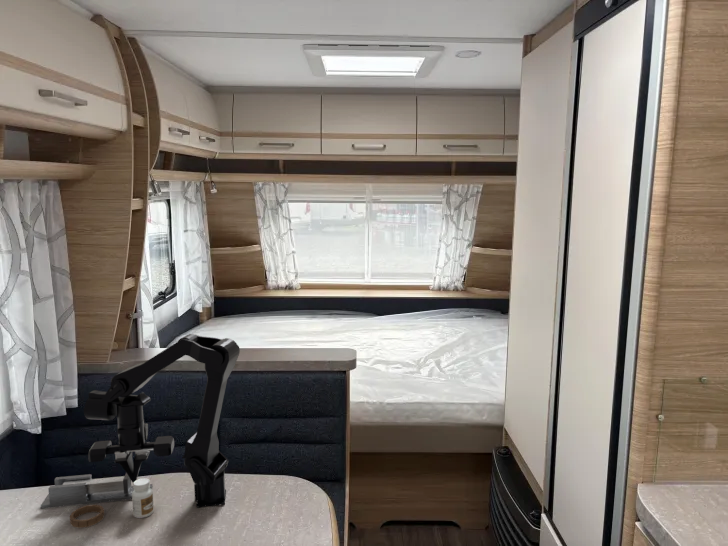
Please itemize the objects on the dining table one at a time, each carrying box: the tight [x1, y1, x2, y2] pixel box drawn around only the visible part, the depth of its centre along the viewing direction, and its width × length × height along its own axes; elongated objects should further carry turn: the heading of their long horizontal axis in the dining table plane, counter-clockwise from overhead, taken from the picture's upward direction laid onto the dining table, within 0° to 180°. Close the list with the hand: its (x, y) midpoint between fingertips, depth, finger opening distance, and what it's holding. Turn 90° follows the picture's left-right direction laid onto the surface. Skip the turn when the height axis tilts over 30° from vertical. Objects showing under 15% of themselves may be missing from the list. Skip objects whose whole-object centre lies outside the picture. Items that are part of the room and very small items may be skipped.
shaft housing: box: [40, 473, 154, 509], centre depth 139 cm, size 24×5×5 cm, turn 101°
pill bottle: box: [131, 477, 154, 519], centre depth 132 cm, size 4×4×8 cm
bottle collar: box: [69, 504, 106, 529], centre depth 130 cm, size 7×7×2 cm
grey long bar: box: [63, 472, 132, 494], centre depth 139 cm, size 15×4×4 cm, turn 101°
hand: (134, 481), depth 140 cm, fingers closed
